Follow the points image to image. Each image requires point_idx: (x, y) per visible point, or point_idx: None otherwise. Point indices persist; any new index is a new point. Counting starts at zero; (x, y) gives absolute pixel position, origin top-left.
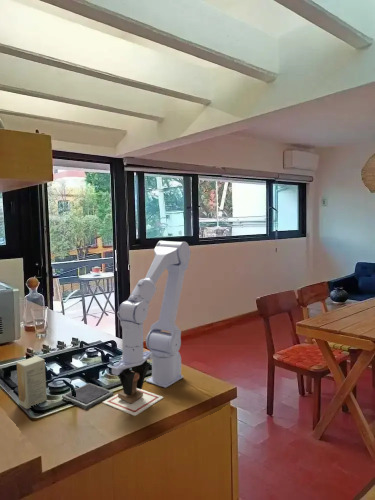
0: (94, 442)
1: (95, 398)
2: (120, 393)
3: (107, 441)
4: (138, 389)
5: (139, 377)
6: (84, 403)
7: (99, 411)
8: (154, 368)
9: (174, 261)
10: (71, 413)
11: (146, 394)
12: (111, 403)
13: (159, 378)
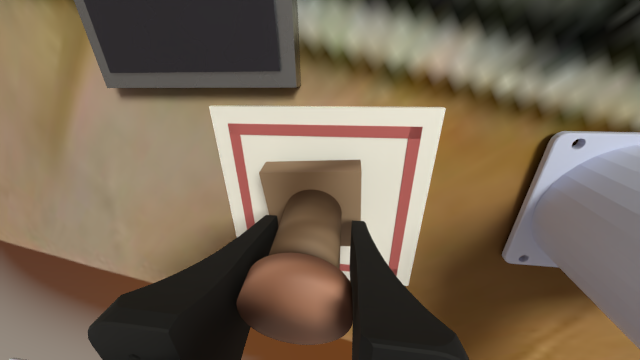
0: (88, 252)
1: (171, 71)
2: (266, 184)
3: (118, 273)
4: (420, 168)
5: (354, 299)
6: (107, 57)
7: (166, 149)
8: (628, 256)
9: None
10: (55, 54)
11: (391, 227)
12: (232, 153)
13: (552, 245)
